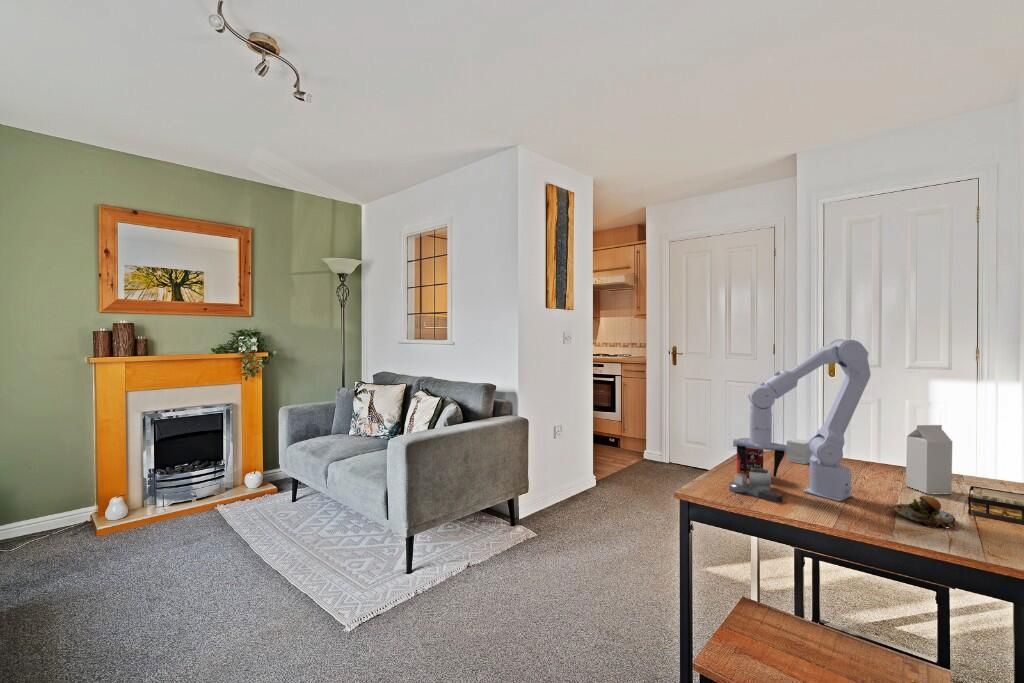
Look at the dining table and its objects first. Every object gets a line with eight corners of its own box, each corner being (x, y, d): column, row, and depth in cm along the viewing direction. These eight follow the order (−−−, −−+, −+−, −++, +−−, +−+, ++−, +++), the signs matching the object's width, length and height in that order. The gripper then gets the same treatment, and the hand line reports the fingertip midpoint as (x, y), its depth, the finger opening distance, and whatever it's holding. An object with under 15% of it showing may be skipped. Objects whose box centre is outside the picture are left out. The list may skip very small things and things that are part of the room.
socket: (770, 486, 142) (771, 469, 141) (770, 492, 137) (770, 474, 137) (750, 483, 144) (750, 467, 144) (749, 488, 140) (749, 471, 139)
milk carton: (951, 494, 134) (953, 427, 134) (926, 495, 134) (927, 427, 134) (929, 486, 141) (930, 422, 141) (905, 486, 141) (906, 422, 141)
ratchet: (724, 489, 139) (725, 474, 139) (736, 485, 142) (736, 470, 142) (773, 504, 127) (774, 486, 127) (785, 499, 131) (785, 482, 131)
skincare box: (811, 461, 168) (811, 441, 168) (805, 464, 164) (805, 443, 164) (792, 458, 173) (793, 438, 172) (786, 461, 169) (786, 440, 169)
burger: (892, 507, 126) (893, 479, 126) (953, 518, 118) (954, 488, 118) (892, 521, 116) (892, 491, 116) (957, 534, 109) (958, 502, 109)
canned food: (738, 477, 151) (739, 442, 150) (734, 470, 158) (735, 437, 158) (765, 479, 148) (766, 444, 148) (760, 472, 156) (760, 438, 156)
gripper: (732, 427, 140) (731, 473, 141) (789, 433, 133) (788, 481, 133) (734, 423, 146) (734, 467, 147) (789, 428, 139) (788, 474, 139)
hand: (759, 473), depth 140 cm, fingers open, 7 cm apart
